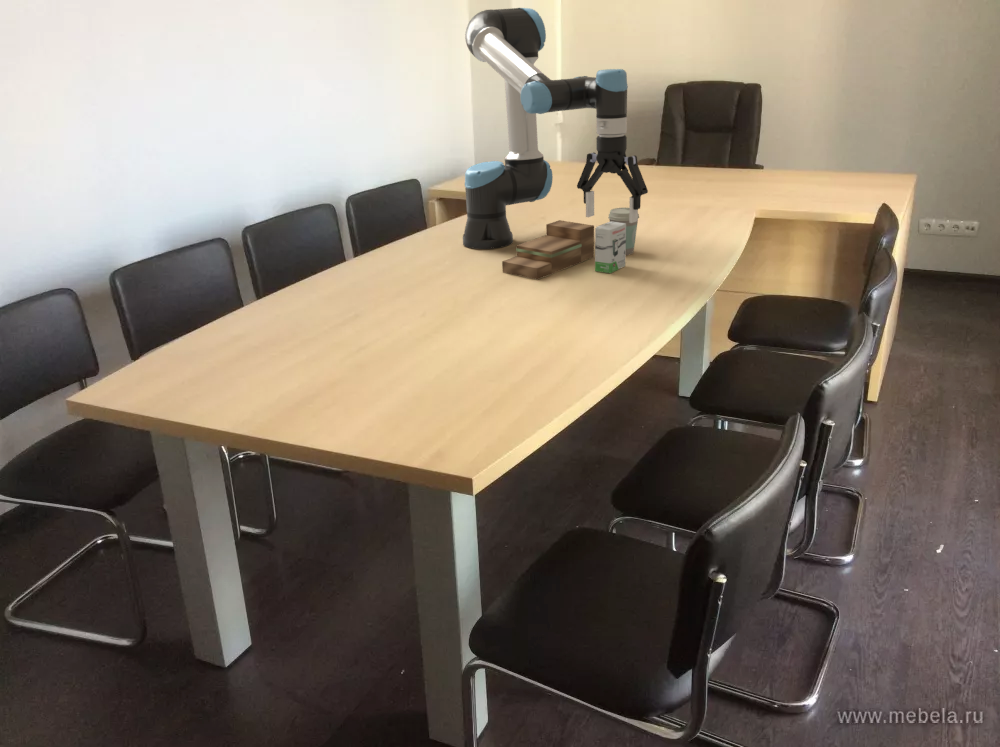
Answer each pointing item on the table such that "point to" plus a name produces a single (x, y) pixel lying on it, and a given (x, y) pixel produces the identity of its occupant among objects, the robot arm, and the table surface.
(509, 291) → the table surface
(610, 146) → the robot arm
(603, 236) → the ink box
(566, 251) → the stand
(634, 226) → the coffee cup
